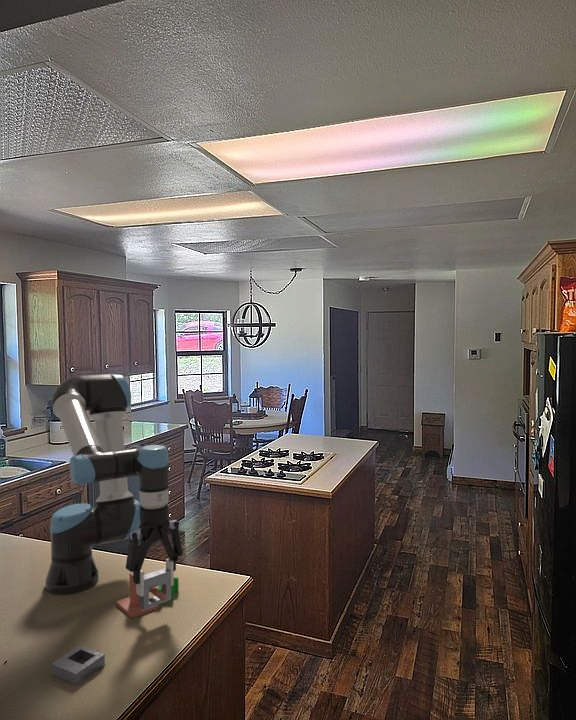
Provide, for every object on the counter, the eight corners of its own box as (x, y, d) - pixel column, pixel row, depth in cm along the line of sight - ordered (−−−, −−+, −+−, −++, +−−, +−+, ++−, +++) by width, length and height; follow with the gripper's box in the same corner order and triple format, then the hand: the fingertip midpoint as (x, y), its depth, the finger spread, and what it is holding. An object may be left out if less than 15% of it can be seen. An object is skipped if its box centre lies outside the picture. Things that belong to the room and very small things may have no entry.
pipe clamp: (169, 606, 147) (169, 590, 147) (156, 605, 147) (156, 589, 147) (181, 587, 158) (181, 572, 158) (169, 586, 158) (169, 572, 158)
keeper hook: (116, 604, 147) (115, 571, 147) (142, 595, 153) (141, 563, 152) (151, 634, 132) (150, 597, 132) (178, 622, 138) (178, 587, 137)
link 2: (139, 606, 137) (139, 576, 136) (166, 596, 142) (166, 567, 142) (144, 610, 135) (143, 579, 134) (171, 599, 140) (170, 570, 140)
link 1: (51, 674, 116) (51, 663, 116) (80, 655, 123) (80, 645, 123) (76, 685, 113) (76, 674, 113) (104, 664, 120) (104, 654, 120)
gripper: (123, 517, 128) (124, 608, 128) (195, 499, 142) (196, 581, 143) (110, 510, 133) (111, 597, 134) (181, 493, 147) (181, 572, 148)
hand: (155, 589), depth 138 cm, fingers closed on link 2, 8 cm apart
